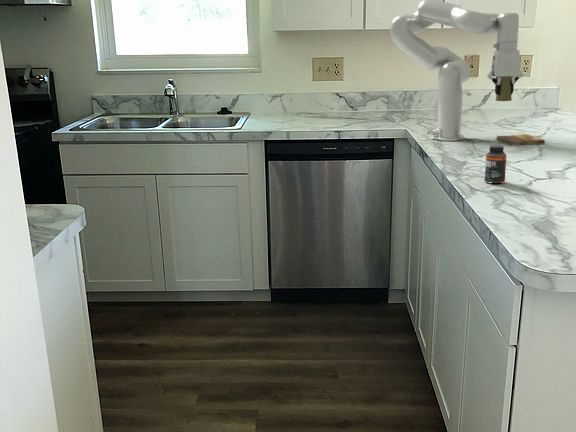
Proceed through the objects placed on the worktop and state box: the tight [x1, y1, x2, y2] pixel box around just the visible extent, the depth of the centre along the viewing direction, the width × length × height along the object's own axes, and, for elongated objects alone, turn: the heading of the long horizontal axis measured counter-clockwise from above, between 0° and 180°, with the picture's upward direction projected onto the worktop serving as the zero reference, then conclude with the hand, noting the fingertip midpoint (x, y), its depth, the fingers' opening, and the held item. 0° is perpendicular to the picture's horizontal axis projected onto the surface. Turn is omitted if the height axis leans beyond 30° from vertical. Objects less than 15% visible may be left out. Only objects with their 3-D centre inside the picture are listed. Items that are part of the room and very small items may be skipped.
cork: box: [495, 76, 512, 102], centre depth 245 cm, size 6×6×11 cm
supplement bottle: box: [484, 144, 507, 184], centre depth 190 cm, size 6×6×11 cm
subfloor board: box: [496, 133, 546, 146], centre depth 253 cm, size 14×13×2 cm
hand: (503, 94), depth 246 cm, fingers closed on cork, 4 cm apart
